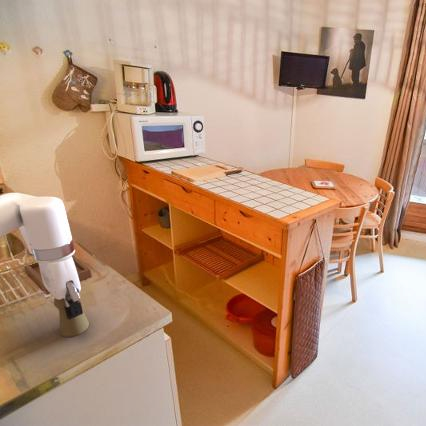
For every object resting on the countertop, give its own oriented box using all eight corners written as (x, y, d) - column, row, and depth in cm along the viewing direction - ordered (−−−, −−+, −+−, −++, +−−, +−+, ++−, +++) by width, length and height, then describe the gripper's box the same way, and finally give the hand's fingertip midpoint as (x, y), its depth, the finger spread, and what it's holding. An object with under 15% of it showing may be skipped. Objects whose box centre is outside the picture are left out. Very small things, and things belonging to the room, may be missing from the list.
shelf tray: (92, 277, 104) (90, 269, 102) (46, 294, 94) (44, 286, 93) (69, 257, 113) (67, 250, 111) (25, 271, 103) (23, 264, 102)
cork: (63, 340, 79) (53, 305, 75) (57, 327, 83) (47, 293, 78) (92, 328, 83) (83, 294, 79) (85, 316, 87) (77, 283, 83)
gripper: (20, 242, 75) (39, 303, 82) (48, 269, 67) (66, 335, 74) (58, 232, 81) (73, 290, 88) (88, 256, 73) (102, 318, 80)
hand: (70, 310), depth 81 cm, fingers closed on cork, 5 cm apart
